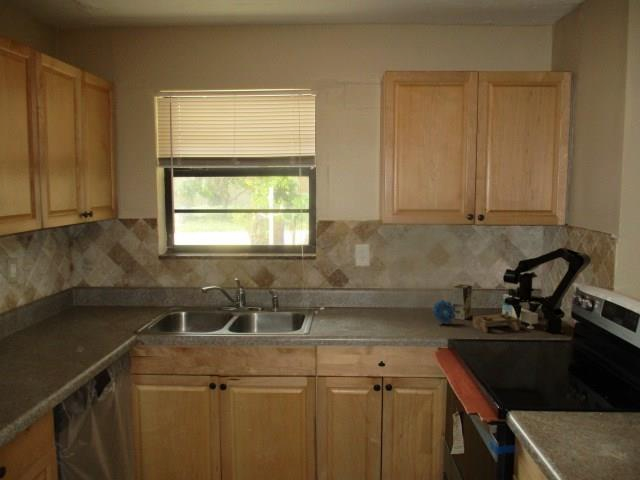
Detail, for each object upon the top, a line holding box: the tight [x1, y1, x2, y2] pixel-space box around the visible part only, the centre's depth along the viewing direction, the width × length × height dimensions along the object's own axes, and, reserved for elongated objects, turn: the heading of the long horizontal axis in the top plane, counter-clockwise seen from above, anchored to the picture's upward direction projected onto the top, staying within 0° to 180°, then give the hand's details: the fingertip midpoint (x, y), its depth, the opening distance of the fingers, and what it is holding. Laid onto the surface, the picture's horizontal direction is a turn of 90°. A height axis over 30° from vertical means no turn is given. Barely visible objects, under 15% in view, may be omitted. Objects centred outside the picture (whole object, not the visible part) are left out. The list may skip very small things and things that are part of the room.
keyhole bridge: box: [472, 313, 521, 333], centre depth 245 cm, size 11×18×5 cm, turn 105°
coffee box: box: [452, 284, 473, 321], centre depth 264 cm, size 9×6×16 cm
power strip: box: [512, 308, 539, 330], centre depth 250 cm, size 4×14×7 cm, turn 15°
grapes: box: [431, 299, 456, 325], centre depth 251 cm, size 12×7×12 cm, turn 97°
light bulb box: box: [501, 293, 529, 316], centre depth 267 cm, size 11×7×11 cm, turn 25°
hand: (524, 318), depth 250 cm, fingers open, 6 cm apart
